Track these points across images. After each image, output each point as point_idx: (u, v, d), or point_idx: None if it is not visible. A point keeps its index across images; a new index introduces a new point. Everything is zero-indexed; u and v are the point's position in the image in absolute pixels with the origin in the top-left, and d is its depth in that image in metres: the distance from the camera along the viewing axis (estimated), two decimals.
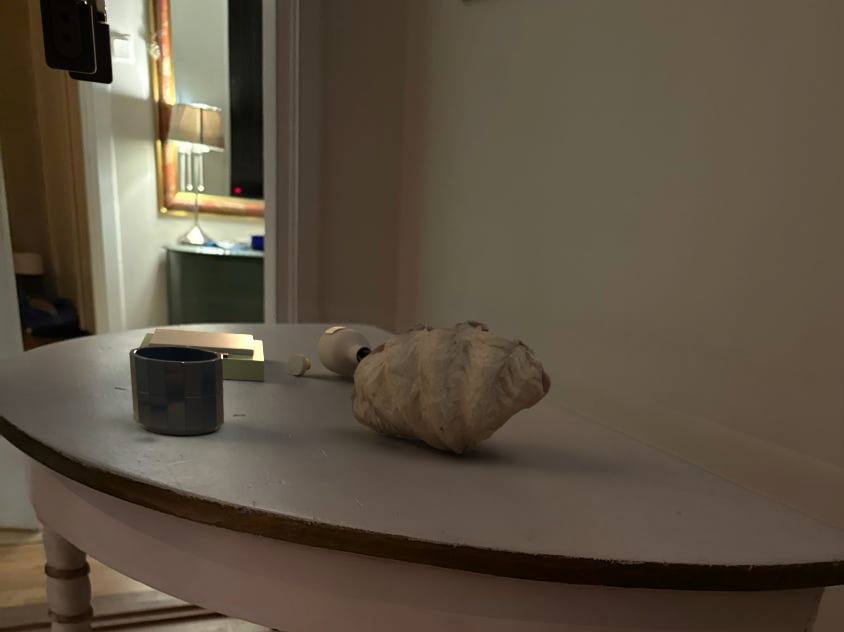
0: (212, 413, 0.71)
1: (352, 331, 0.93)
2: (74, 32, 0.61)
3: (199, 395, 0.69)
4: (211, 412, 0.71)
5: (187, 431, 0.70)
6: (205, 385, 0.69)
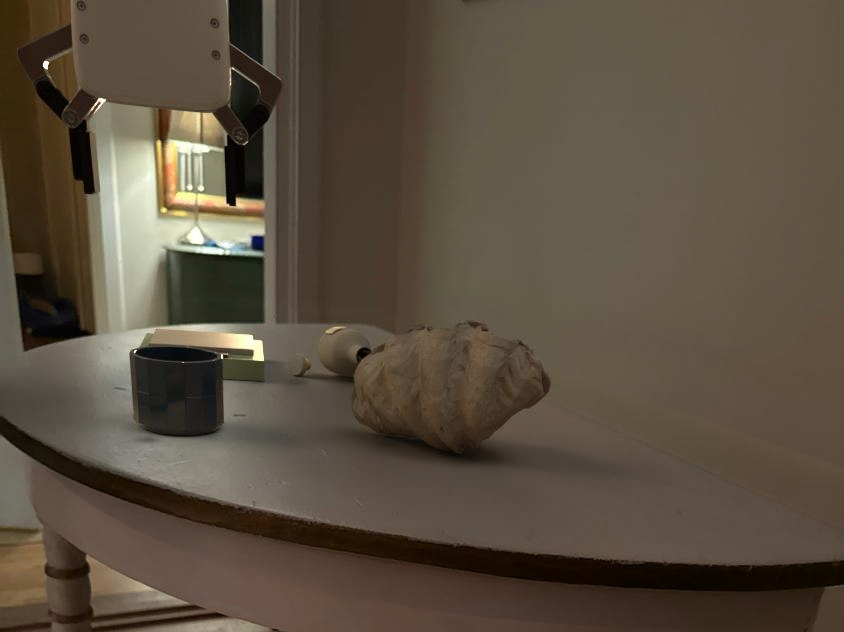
0: (212, 413, 0.71)
1: (352, 331, 0.93)
2: (72, 157, 0.63)
3: (199, 395, 0.69)
4: (211, 412, 0.71)
5: (187, 431, 0.70)
6: (205, 385, 0.69)
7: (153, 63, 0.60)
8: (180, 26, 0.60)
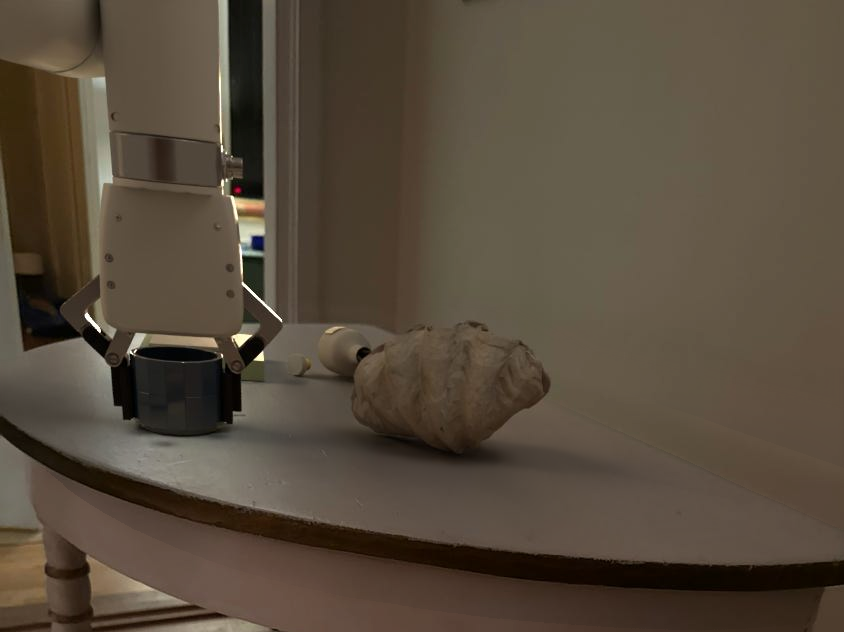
0: (212, 413, 0.71)
1: (352, 331, 0.93)
2: None
3: (199, 395, 0.69)
4: (211, 412, 0.71)
5: (187, 431, 0.70)
6: (205, 385, 0.69)
7: (173, 303, 0.66)
8: (198, 272, 0.66)
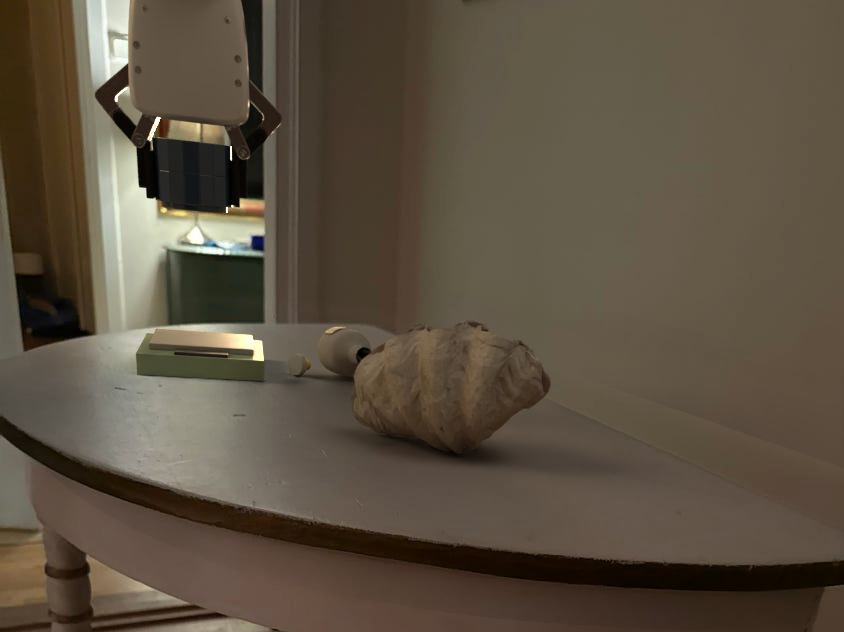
0: (222, 193, 0.83)
1: (352, 331, 0.93)
2: (138, 169, 0.82)
3: (211, 174, 0.81)
4: (221, 192, 0.83)
5: (201, 208, 0.82)
6: (216, 166, 0.81)
7: (189, 88, 0.79)
8: (211, 61, 0.78)
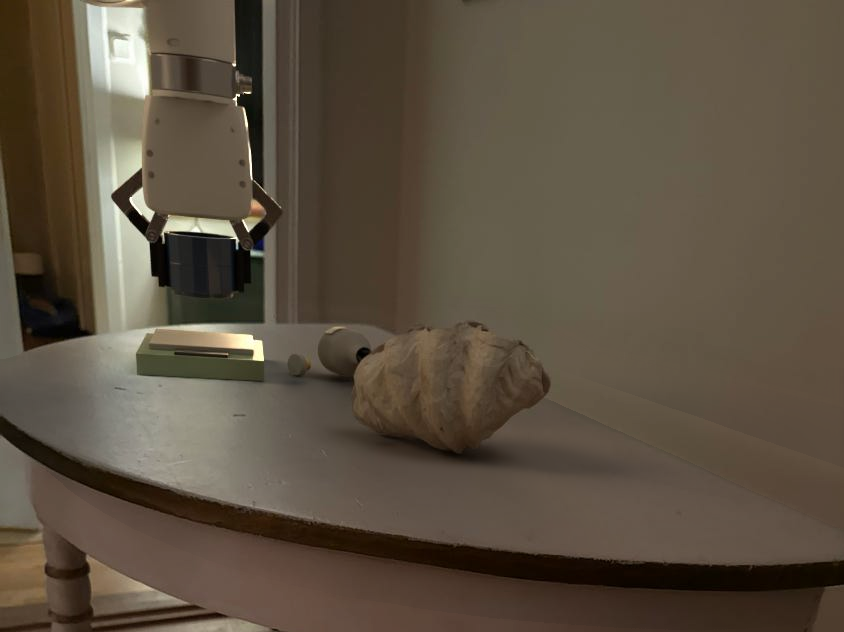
0: (228, 282, 0.90)
1: (352, 331, 0.93)
2: None
3: (218, 265, 0.89)
4: (227, 281, 0.90)
5: (209, 295, 0.90)
6: (223, 258, 0.89)
7: (198, 190, 0.86)
8: (218, 166, 0.85)
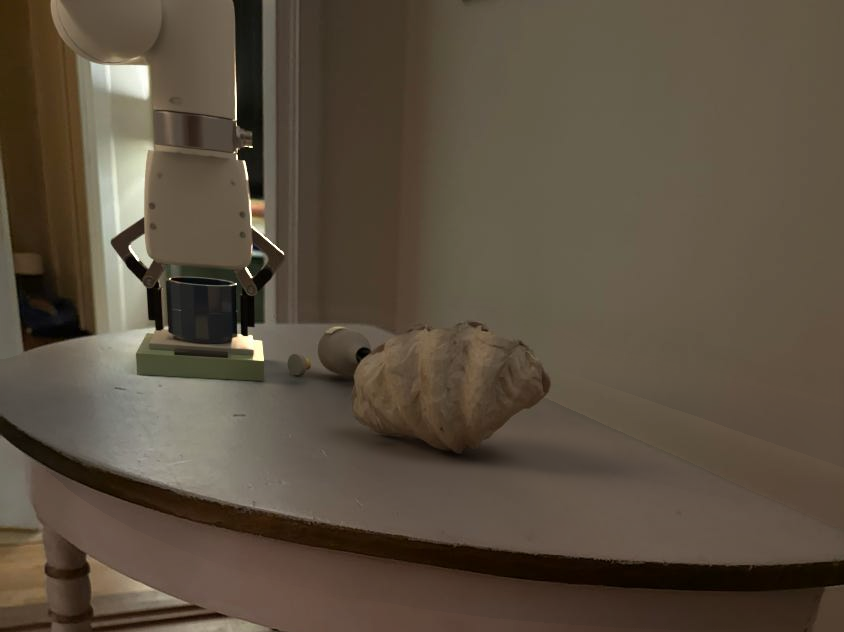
0: (228, 327, 0.92)
1: (352, 331, 0.93)
2: (147, 305, 0.91)
3: (219, 312, 0.91)
4: (228, 326, 0.92)
5: (209, 340, 0.92)
6: (223, 304, 0.91)
7: (199, 241, 0.88)
8: (218, 217, 0.87)
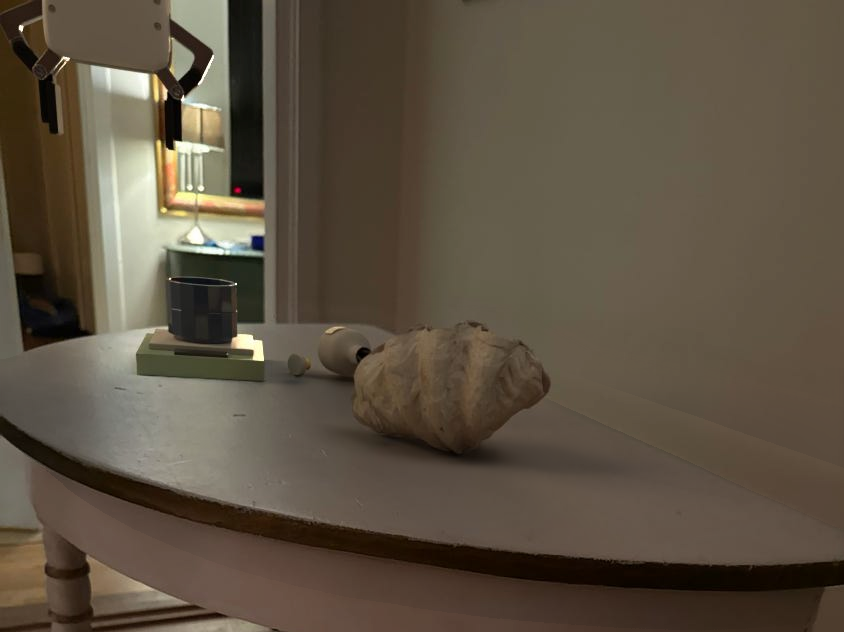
0: (228, 327, 0.92)
1: (352, 331, 0.93)
2: None
3: (219, 312, 0.91)
4: (228, 326, 0.92)
5: (209, 340, 0.92)
6: (223, 304, 0.91)
7: (106, 30, 0.76)
8: (129, 2, 0.76)
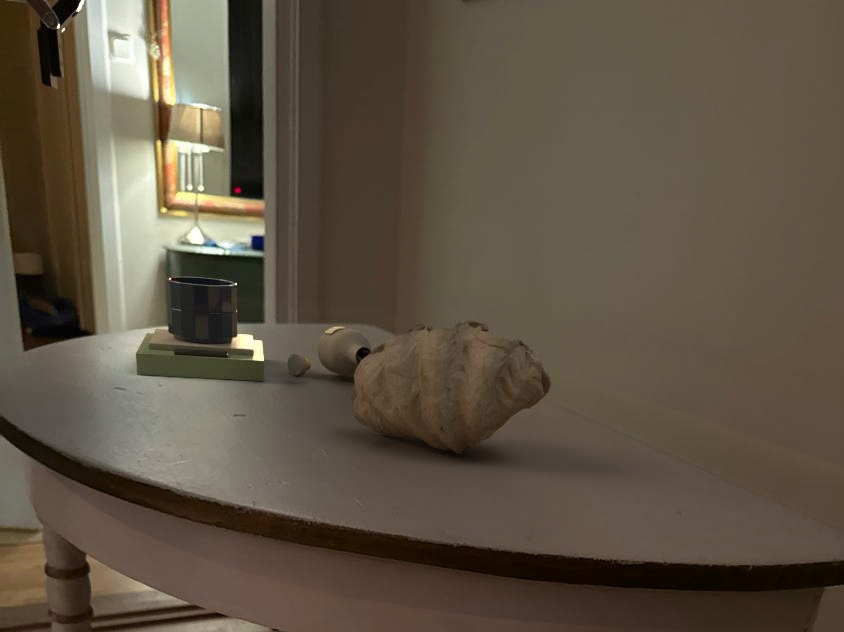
0: (228, 327, 0.92)
1: (352, 331, 0.93)
2: None
3: (219, 312, 0.91)
4: (228, 326, 0.92)
5: (209, 340, 0.92)
6: (223, 304, 0.91)
7: None
8: None
